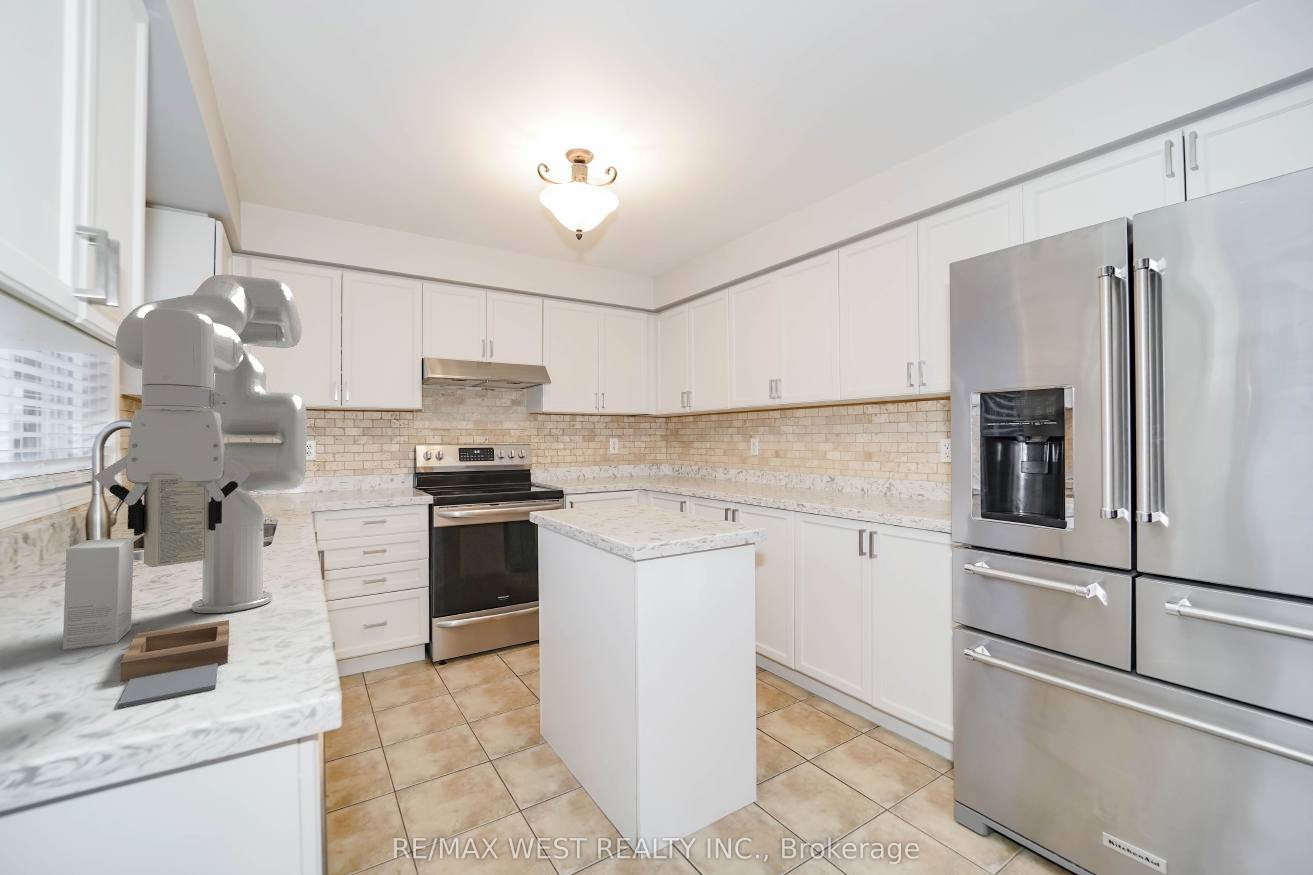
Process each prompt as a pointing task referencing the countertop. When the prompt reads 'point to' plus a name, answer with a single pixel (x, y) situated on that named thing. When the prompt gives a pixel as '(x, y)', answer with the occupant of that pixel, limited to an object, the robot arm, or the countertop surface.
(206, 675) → the slate mat
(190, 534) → the skincare box
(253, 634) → the countertop surface
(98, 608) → the skincare box
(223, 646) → the hollow wooden block
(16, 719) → the countertop surface
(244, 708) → the countertop surface
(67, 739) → the countertop surface
